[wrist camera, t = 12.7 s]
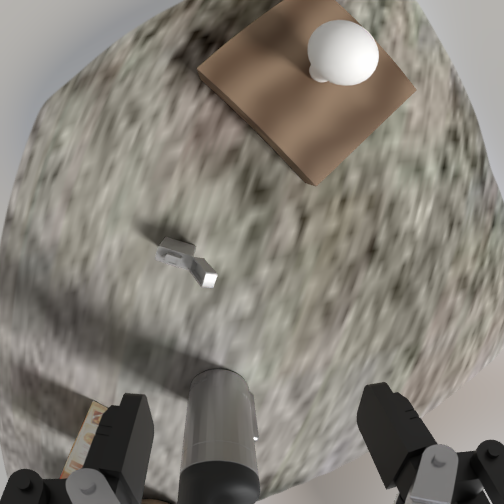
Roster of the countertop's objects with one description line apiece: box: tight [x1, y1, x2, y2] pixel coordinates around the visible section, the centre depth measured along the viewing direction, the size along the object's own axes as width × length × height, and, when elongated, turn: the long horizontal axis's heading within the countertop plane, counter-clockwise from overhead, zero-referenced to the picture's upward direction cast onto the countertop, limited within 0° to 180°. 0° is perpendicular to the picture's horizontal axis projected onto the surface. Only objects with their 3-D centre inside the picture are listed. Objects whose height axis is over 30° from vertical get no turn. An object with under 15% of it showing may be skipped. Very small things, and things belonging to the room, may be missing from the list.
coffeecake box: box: [60, 401, 108, 479], centre depth 39 cm, size 15×7×20 cm, turn 148°
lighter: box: [155, 237, 217, 288], centre depth 36 cm, size 7×2×8 cm, turn 71°
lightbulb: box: [308, 20, 379, 86], centre depth 24 cm, size 6×6×11 cm
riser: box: [197, 0, 416, 186], centre depth 32 cm, size 18×18×5 cm
